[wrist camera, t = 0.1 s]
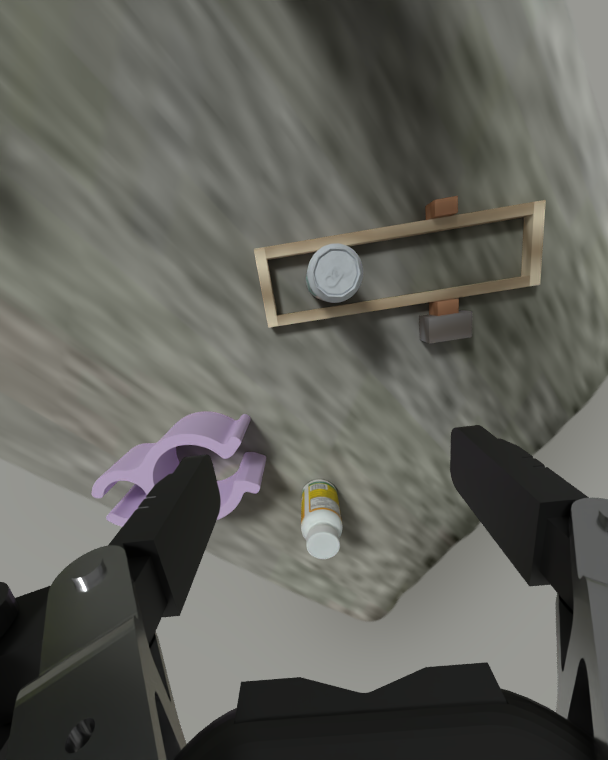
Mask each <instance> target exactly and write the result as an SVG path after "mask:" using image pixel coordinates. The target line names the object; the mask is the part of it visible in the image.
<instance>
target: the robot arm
mask: <svg viewBox="0 0 608 760" xmlns="http://www.w3.org/2000/svg"><path fill="white" fill-rule="evenodd" d="M450 472H451V478H452V481H453V484H454V486H455V488H456V490H457V491H458V492H459V494H460V495H461V496H462V498H463V499H464V500H465V502H466V503H467V504H468V506H469V507H470V508H471V510H472V511H473V512H474V514H475V515H476V516H477V518H478V519H479V520H480V522H481V523H482V524H483V526H484V527H485V528H486V529H487V531H488V532H489V533H490V535H491V536H492V537H493V539H494V540H495V541H496V543H497V544H498V545H499V547H500V548H501V549H502V551H503V552H504V553H505V555H506V556H507V557H508V559H509V560H510V561H511V563H512V564H513V565H514V567H515V568H516V569H517V571H518V572H519V573H520V574H521V576H522V577H523V578H524V579H525V581H526V582H527V584H528V585H529V586H539V585H550V584H551V586H552V587H553V588H554V589H555V590H556V592H557V597H556V636H557V669H558V670H557V673H558V694H557V708H556V712H554V711H553V710H551V709H549V708H547V707H546V706H543V705H541V704H539V703H537V702H535V701H533V700H531V699H529V698H527V697H524V696H522V695H519V694H516V693H513V692H511V691H508V690H504V689H500V687H499V685H498V683H497V681H496V679H495V677H494V675H493V673H492V671H491V669H490V667H489V665H488V663H474V664H462V665H449V666H436V667H426V668H423V669H421V670H419V671H416V672H414V673H412V674H410V675H407V676H405V677H403V678H401V679H398V680H396V681H394V682H392V683H390V684H387V685H385V686H383V687H381V688H378V689H376V690H374V691H372V692H369V693H359V692H355V691H351V690H347V689H343V688H339V687H336V686H331V685H328V684H324V683H320V682H316V681H312V680H309V679H304V678H301V677H297V678H284V679H272V680H259V681H246V682H241V686H240V692H239V699H238V704H237V708H235V709H233V710H231V711H229V712H227V713H226V714H224V715H222V716H221V717H219V718H218V719H216V720H214V721H213V722H212V723H210V724H209V725H208V726H207V727H205V728H204V729H203V730H202V731H200V732H199V733H198V734H197V735H196V736H195V737H194V738H193V739H192V740H191V741H190V742H189V743H187V744H186V741H185V738H184V735H183V732H182V729H181V725H180V723H179V719H178V715H177V712H176V708H175V704H174V700H173V696H172V692H171V688H170V684H169V680H168V676H167V671H166V667H165V663H164V659H163V655H162V651H161V647H160V643H159V639H158V636H157V634H156V629H157V626H158V624H159V622H160V620H161V617H171V616H180V613H181V611H182V608H183V606H184V603H185V601H186V598H187V595H188V593H189V590H190V588H191V585H192V582H193V580H194V577H195V575H196V572H197V569H198V567H199V564H200V562H201V559H202V556H203V554H204V551H205V549H206V546H207V543H208V541H209V538H210V536H211V533H212V530H213V528H214V525H215V523H216V520H217V517H218V515H219V512H220V505H221V498H220V492H219V488H218V484H217V480H216V476H215V472H214V468H213V464H212V460H211V458H210V456H209V455H199V456H190V457H185V458H183V460H182V461H181V462H180V464H179V465H178V466H177V468H176V469H175V471H174V472H173V473H172V474H168V475H167V476H166V477H164V478H163V479H162V480H160V481H159V482H158V483H157V484H155V485H154V487H153V488H152V489H151V491H150V492H149V493H148V494H147V496H146V499H144V500H143V501H142V502H141V504H140V505H139V506H138V509H136V510H135V511H134V513H133V514H132V515H131V517H130V518H129V519H128V520H127V522H126V523H125V524H124V526H123V527H122V528H121V529H120V531H119V532H118V533H117V535H116V536H115V537H114V539H113V540H112V541H111V542H110V544H109V545H108V546H104V547H100V548H97V549H94V550H92V551H90V552H88V553H86V554H84V555H82V556H81V557H79V558H78V559H76V560H75V561H73V562H72V563H71V564H69V565H68V566H67V567H66V568H65V569H64V570H63V571H62V572H61V573H60V574H59V575H58V576H57V577H56V578H55V580H54V581H53V583H52V585H51V586H48V587H45V588H43V589H40V590H37V591H34V592H31V593H28V594H25V595H23V596H20V597H17V598H15V597H14V596H13V594H12V592H11V590H10V589H9V587H8V585H7V584H6V583H4V582H0V760H608V499H602V498H589V497H587V496H586V495H584V494H583V493H582V492H581V491H579V490H577V489H576V488H575V487H574V486H572V485H571V484H569V483H568V482H566V481H565V480H564V479H563V478H561V477H560V476H559V475H557V474H556V473H554V472H553V471H552V470H550V469H549V468H548V467H546V468H545V466H544V464H542V463H541V462H540V461H538V460H537V459H533V456H531V455H530V454H529V453H527V452H526V451H525V450H523V449H522V448H520V447H519V446H517V445H515V444H512V443H510V442H507V441H505V440H503V439H497V438H496V437H495V436H493V435H492V434H491V433H489V432H488V431H487V430H486V429H484V428H483V427H482V426H480V425H475V426H466V427H457V428H453V430H452V432H451V460H450Z"/></svg>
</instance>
